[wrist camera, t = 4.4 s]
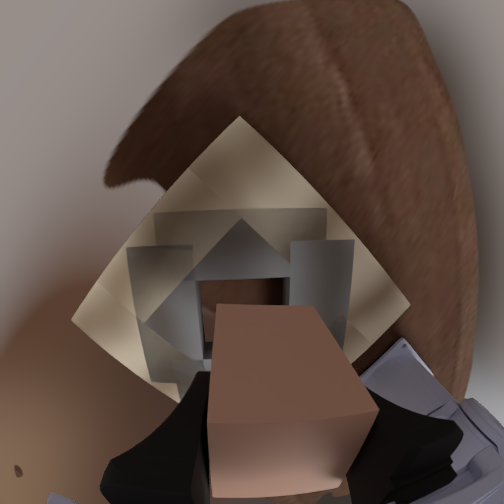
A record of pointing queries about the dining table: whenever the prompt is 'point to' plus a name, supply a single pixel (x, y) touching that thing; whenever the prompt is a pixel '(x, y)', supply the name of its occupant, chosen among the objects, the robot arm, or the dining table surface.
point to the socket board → (233, 263)
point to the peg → (281, 403)
